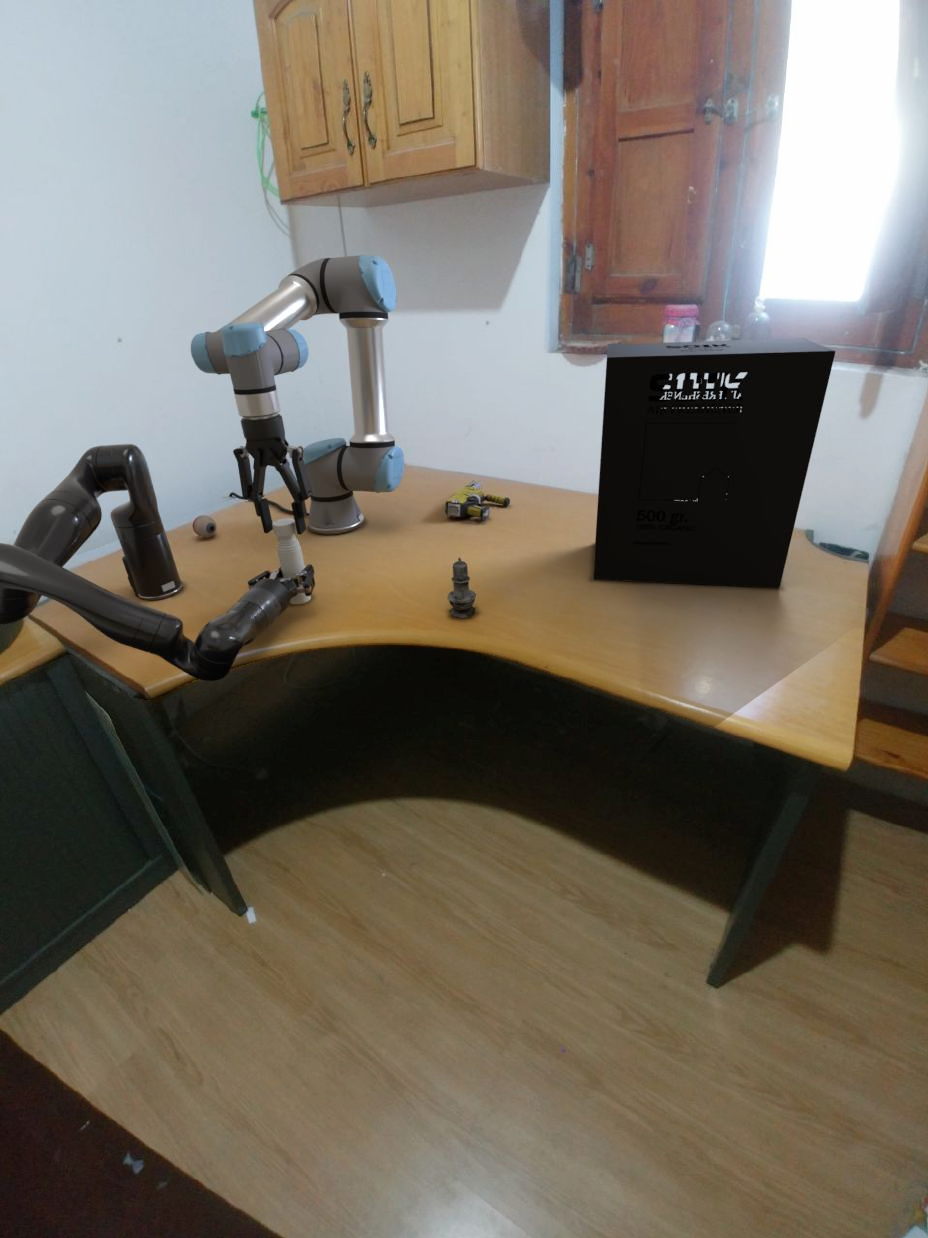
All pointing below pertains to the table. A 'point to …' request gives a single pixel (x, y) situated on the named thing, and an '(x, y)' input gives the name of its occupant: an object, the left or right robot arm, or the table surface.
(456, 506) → the toy gun
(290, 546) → the bottle
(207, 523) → the eyeball
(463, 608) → the grey chess piece
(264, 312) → the right robot arm
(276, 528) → the cap
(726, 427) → the cardboard box
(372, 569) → the table surface
